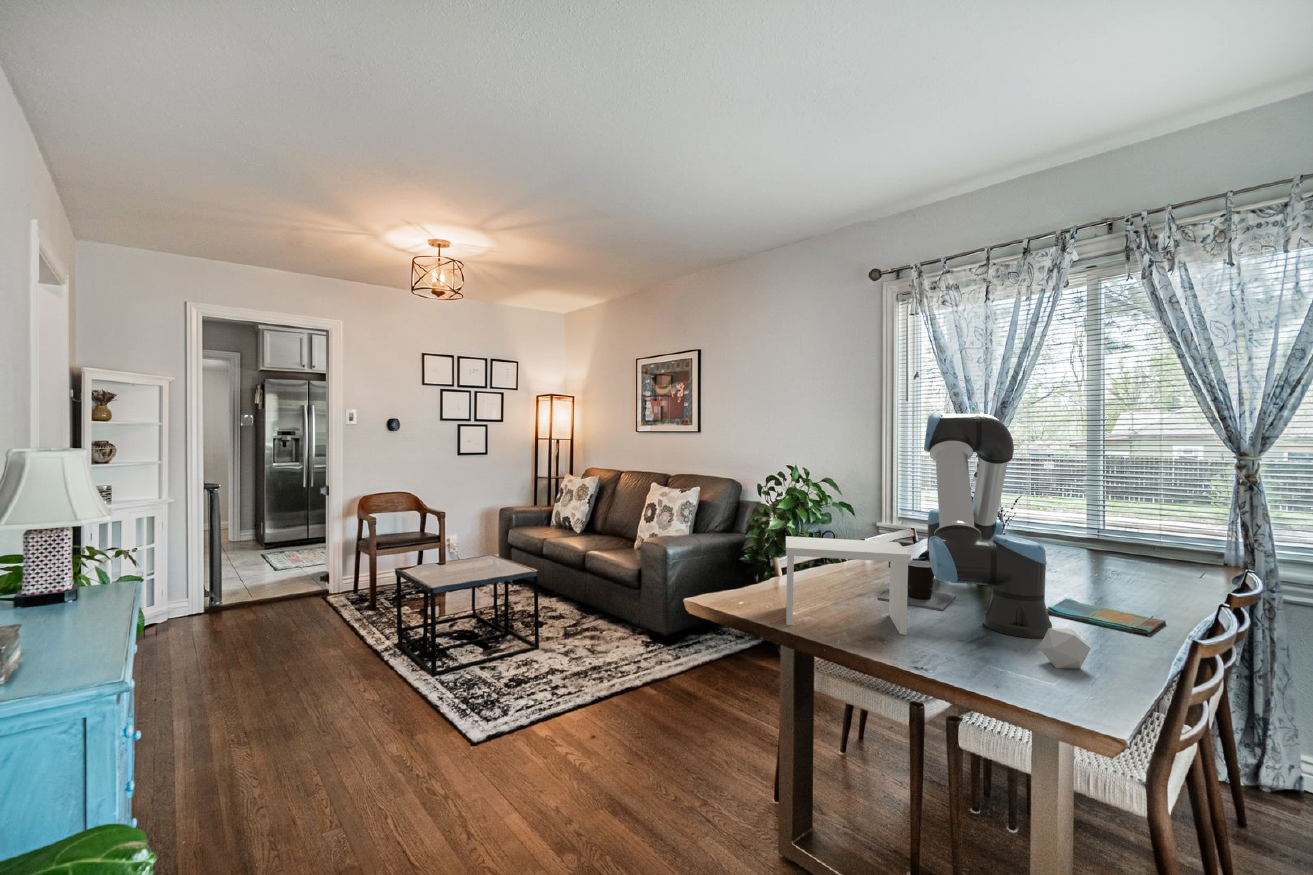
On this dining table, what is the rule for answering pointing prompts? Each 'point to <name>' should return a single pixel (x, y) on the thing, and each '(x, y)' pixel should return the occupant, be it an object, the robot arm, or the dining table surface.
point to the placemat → (936, 602)
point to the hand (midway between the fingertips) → (915, 572)
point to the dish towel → (1106, 617)
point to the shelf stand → (859, 552)
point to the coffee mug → (920, 580)
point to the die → (1064, 648)
